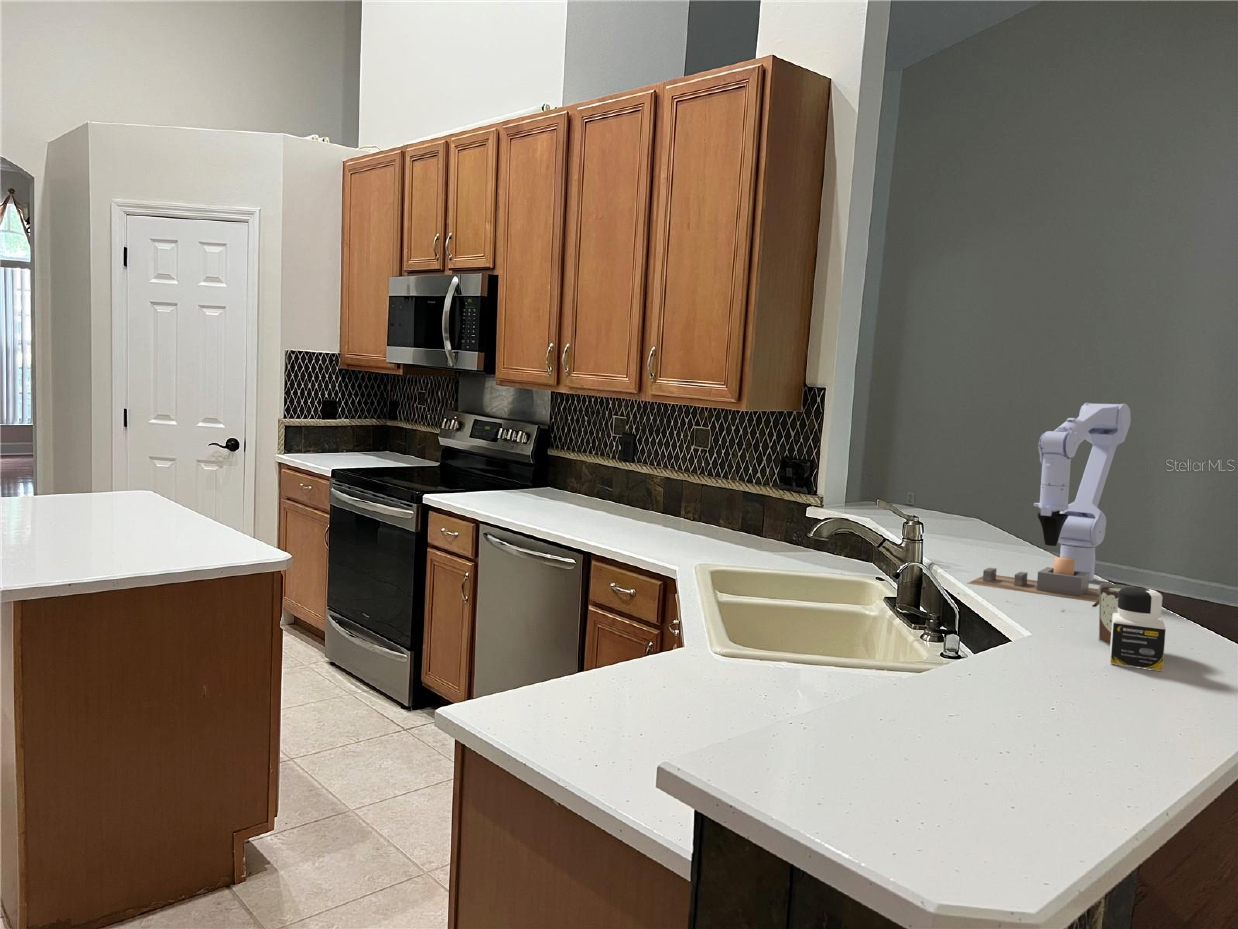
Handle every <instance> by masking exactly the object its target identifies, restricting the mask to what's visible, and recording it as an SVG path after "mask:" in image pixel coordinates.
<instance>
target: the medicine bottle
mask: <svg viewBox="0 0 1238 929" xmlns="http://www.w3.org/2000/svg"><path fill="white" fill-rule="evenodd" d="M1162 605H1163V595H1162V594H1161V593H1160V592H1158V591H1157V590H1154V589H1150V588H1145V587H1138V586H1137V587H1136V586H1131V587H1126V588H1123V589H1121V590H1120V591H1119V595H1118V609H1117V612H1118V613H1113V615H1112V629H1111V642H1110V646H1109V660H1110V661H1109V664H1110V665H1112V664H1115V665H1114V666H1117V665H1122V666H1121V667H1124V666H1128V667H1127V668H1131V667H1140V668H1146V669H1151V670H1150V671H1152V670H1156V671H1155V672H1158V671H1161V672H1163V669H1164V656H1165V645H1166V642H1165V641H1166V630H1167V629H1166V626H1165V622H1164V620H1163V618H1161V617H1162V608H1163V606H1162Z"/></svg>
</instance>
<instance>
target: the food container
mask: <svg viewBox="0 0 1238 929" xmlns="http://www.w3.org/2000/svg"><path fill="white" fill-rule="evenodd" d="M1126 587H1132V586H1129V585H1124V584H1116V583H1115V584H1114V583H1106V582H1105V583H1102V582H1099V586H1098V589H1099V590H1098V594H1100V600H1099V605H1098V606H1099V610H1098V615H1099V616H1098V642H1100V643H1102V644H1103V645H1106V646H1107V647H1110V642H1111V629H1112V615H1113V613H1118V612H1117V609H1118V595H1119V591H1120V590H1121V589H1123V588H1126Z"/></svg>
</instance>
